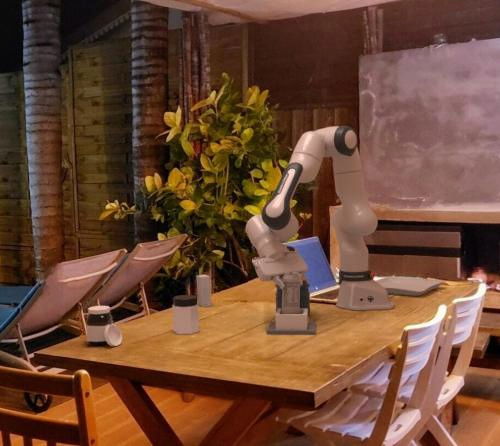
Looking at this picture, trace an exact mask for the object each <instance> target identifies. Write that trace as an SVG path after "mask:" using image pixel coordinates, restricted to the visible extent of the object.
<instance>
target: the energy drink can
mask: <svg viewBox="0 0 500 446" xmlns="http://www.w3.org/2000/svg"><path fill="white" fill-rule="evenodd" d="M282 282H285V284H286V288H285V289H282V314H299V306H300V276H299V273H298V272H295V271H290V272H284V275H283V277H282Z"/></svg>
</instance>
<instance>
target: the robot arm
mask: <svg viewBox="0 0 500 446" xmlns="http://www.w3.org/2000/svg"><path fill="white" fill-rule="evenodd" d="M357 146H358V135H357V133H356V131H355V130H354V128H352V127H351V126H348V125H340V126H338V125H337V126H327V127H324V128H319V129H314V130H309V131H306V132H304V133H303V134H302V135H301V137H300V138H299V140H298V141H297V143H296V145H295V147H294V150H293V152H292V155H291V157H290V160H289V162H288V164H287V167H285V169H284V171H283V173H282V175H281V177H280V180H279V182H278V183H277V186H276V189H275V191H273V192H274V193H273V194H272V196H271V197H270V199H269V200H268V201H267V202H266V203H265V205H264V206H263V208H262V209H261V210H262V211H261V214H255V215H253V216H252V217H250V218H249V219H248V221H247V223H246V225H245V232H246V235H247V236H248V237H247V238H248V239H249V240H250V243H251V244H252V246H253V247H254V248H255V249H256V251H257V255H258V256H255V257H253V258H252V260H251V263H252V264H253V267H254V269H255V272H256V275H257V277H258V279H259V280H260V281H261V282H269V281H272V282H273V283H274V284H277V285H278V286H279V287H280V288H281V289H285V288H286V284H285V282H282V281H281V280H280V279H282V277H283V275H284V272H290V271H295V272H298V273H299V276H300V286H302V284H303V282H302V281H301V276H303V275H304V276H305V275H306V274H307V273H308V270H309V267H308V264H307V262H306V261H305V260H304V258H303V257H302V256H301V254H300V253H298V249H297V247H295V246H291V245H287V244H284V242H286V241H288V240H291V239H292V238H294V236H296V235H297V233H298V232H299V229H300V223H299V221H298V219H297V217H296V216H295V215H294V213H293V212H292V210H291V202H292V201H291V200H292V198H293V197H294V195H295V192H296V190H297V188H298V185H299V184H307V183H310V182H312V181H314V180H315V179H316V177H317V175H318V174H319V170H320V169H321V165H322V163H323V159H324V158H332V169H333V178H334V179H333V180H334V185H335V186H334V187H335V188H334V189H335V193H336V195H337V197H338V198H339V200H340V203H341V207H338V208H336V209H335V210H334V211H333V212H332V214H331V217H330V221H331V225H332V226H333V228H334V232H335V235H336V239H337V240H336V241H337V243H338V249H339V270H338V284H339V287H338V288H339V289H338V290H339V291H338V296H337V302H336V304H335V305H336V306H337V307H338V308H341V309H347V310H350V311H371V310H372V311H373V310H375V311H376V310H391V309H394V308H395V302H394V301H393V300H390V298H389V294H388V293H387V291H386V289H385V288H384V287H383V286H381V285H380V284H379V283H377V282H376V280H375V278H376V273H375V272H374V271H372V270H371V269H369V250H368V247H367V246H366V242H365V240H364V237H365V236H366V237H367V236H368V235H369V236H370V235H372V234H373V233H374V232H375V230H377V227H378V222H379V221H378V220H379V219H378V217H377V215H376V213H375V212H374V211H373V210H372V208H371V204H370V201H369V199H368V198H369V197H368V196H367V192H366V188H365V182H364V173H363V172H364V171H363V165H362V160H361V159H362V158H361V155H360V151H359V149H358V147H357Z"/></svg>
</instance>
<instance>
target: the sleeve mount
mask: <svg viewBox="0 0 500 446" xmlns="http://www.w3.org/2000/svg"><path fill="white" fill-rule="evenodd" d="M316 331H317V321H309V317H308V309H299V314H282V308H278V310H277V312H276V311H275V319H274V320H271V321H270V323H269V325H268V327H267V329H266V335H280V336H281V335H286V336H287V335H289V336H290V335H291V336H293V335H294V336H295V335H298V336H299V335H301V336H303V335H305V336H308V335H309V336H311V335H313V336H314V335H316Z"/></svg>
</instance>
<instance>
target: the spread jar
mask: <svg viewBox="0 0 500 446" xmlns="http://www.w3.org/2000/svg"><path fill="white" fill-rule="evenodd" d="M110 310H111V307H110V306H109V305H95V306H90V307H88V308H87V311H88V314H87V317H86V325H85V326H86V340H87V343H88V345H90V346H93V347H102V346H103V347H104V346H107V345H109V346H111V347H117V346H120V345H121V344H122V342H123V333H122V330H121V328H120V327H119V326H118V325H116V324H113V316H112V314H111V311H110Z"/></svg>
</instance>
